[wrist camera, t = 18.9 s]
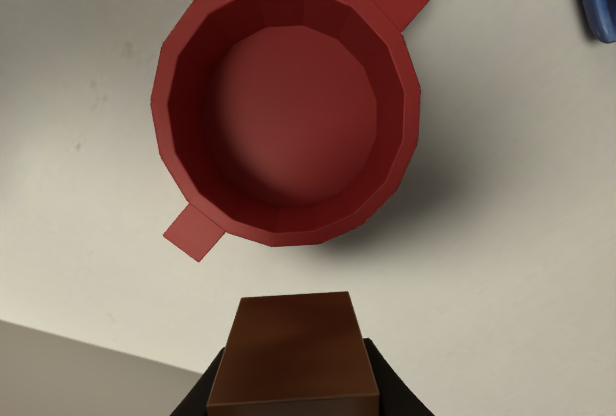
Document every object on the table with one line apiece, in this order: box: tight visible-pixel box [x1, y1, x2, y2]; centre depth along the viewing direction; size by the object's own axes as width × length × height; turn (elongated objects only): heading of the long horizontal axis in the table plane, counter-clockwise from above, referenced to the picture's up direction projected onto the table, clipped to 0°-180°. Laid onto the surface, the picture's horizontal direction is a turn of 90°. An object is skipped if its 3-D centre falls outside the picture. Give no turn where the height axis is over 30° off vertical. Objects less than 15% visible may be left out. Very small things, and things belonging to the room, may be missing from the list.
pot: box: [150, 0, 429, 262], centre depth 17 cm, size 12×18×6 cm
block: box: [206, 291, 380, 416], centre depth 11 cm, size 4×4×5 cm
